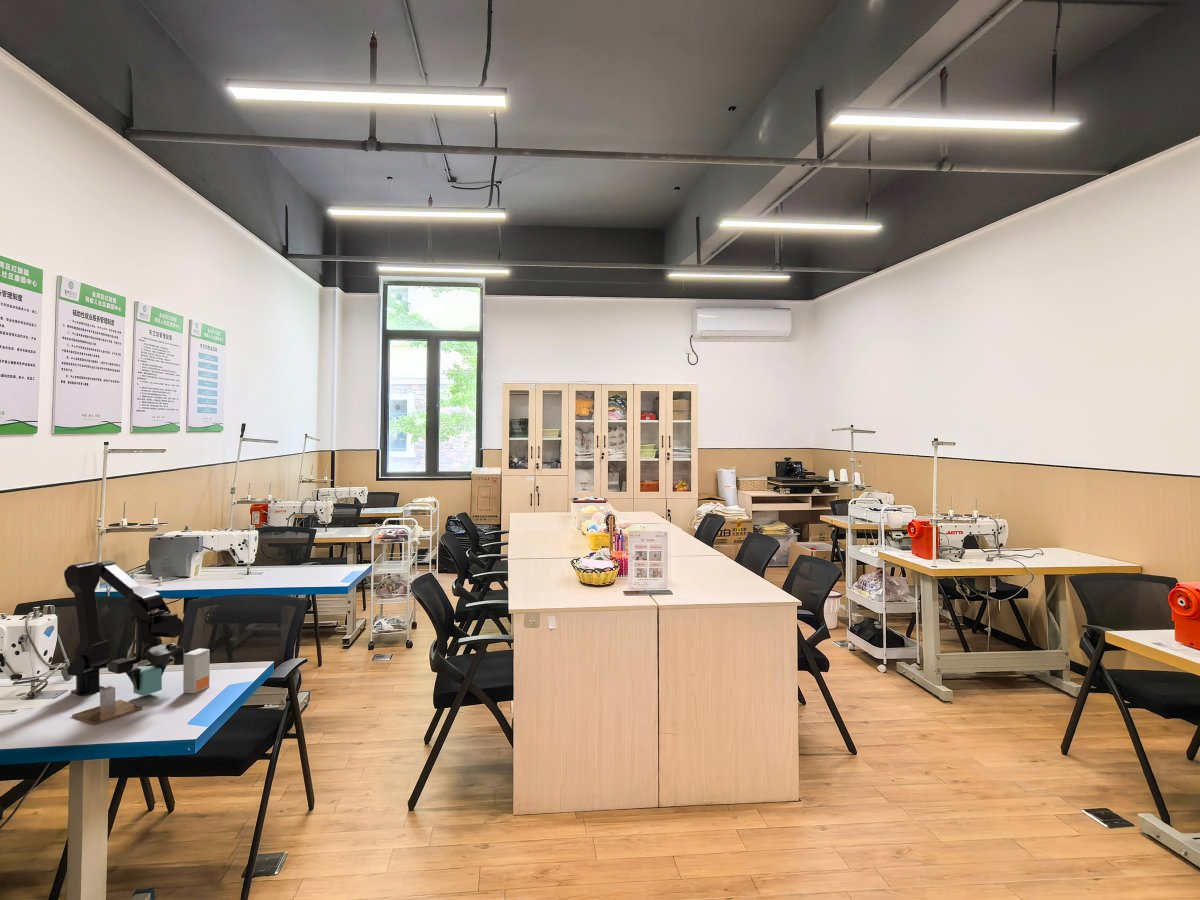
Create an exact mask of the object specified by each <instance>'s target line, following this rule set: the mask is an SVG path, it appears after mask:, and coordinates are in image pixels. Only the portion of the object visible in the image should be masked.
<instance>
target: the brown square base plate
mask: <svg viewBox="0 0 1200 900" xmlns="http://www.w3.org/2000/svg"><path fill="white" fill-rule="evenodd" d="M143 708H144V707H143V706H141V705H137V704H135V703H132V702H128V701H126V700H125V701H124V700H123V699H118V700H116V687H114V686H112V685H109V686H105V688H102V689H100V691H99V705H98V706H95V707H92V708H89V709H86V710H83V711H79V712H76V713H74V714H72V715H71V717H72V718H74V719H77V720H79V721H83V722H85V723H88V724H90V725H93V726H97V725H99V724H102V723H106V722H108V721H112V720H115V719H117V718H121V717H123V716H127V715H130V714H133V713H136V712H139V711H141V710H143Z"/></svg>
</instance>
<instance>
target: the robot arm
mask: <svg viewBox="0 0 1200 900" xmlns="http://www.w3.org/2000/svg"><path fill="white" fill-rule="evenodd" d="M63 573H64V574H63V576H64V577H63V578H64V580H65V585H66V587H67V588H68V589H69V590H70V591H71V592H72V593H73V594H74V600H75V609H76V617H77V624H78V625H77V626H78V632H79V642H78V645H77V646H76V648H75V650H74V660H73V661H72V662H71V663H70V664H69V665H68V667H67V668H66V672H67V675H68V676H74V677H75V689H73V690H70V694H71V693H72V694H75V695H78V696H86V695H89V694H93V693H96V692H100V689H102V688H106V686H102V685H101V684H100V682H101V681H100V680H101V679H100V677H101V676H100V673H101V672H100V670H101V669H104V668H107V671H108V672H109V673H113V674H116V675H119V674H120V675H121V674H126V675H127V677H128V678H129V680H130V681H131V683H132V686H133V685H134V687H135V689H136V690H139V688H140V680H139V673H140V671H141V669H142V668H139V665H140V664H145V663H148V662H149V663H150V664H151V666H155V667H158V668H162V676H163V675H164V672H165V670H166V668H167V666H168V665H169V664H170V663H172V662H174V660H175V659H177V658H180V657H181V658H182V657H184V654H185V649H184V647H183V646H181V645H177V644H176V643H175V642H171V643H168V644H163V640H162V638H171V639H175V638H177V637H179V636H180V635H181V634H182V632H183V630H184V628H185V627H184V626H185V625H184V624H185V623H183V620H182V619H181V618H179V615H178V614H177V613H173V614H171V613H172V612H171V610H170V608H169V607H168V605H167V604H166V602H165V600H164V599H163V596H162V595H161V593H159V592H157V591H156V590H154V589H152V588H149V587H145V586H142V585H141V584H139V583H138V582H137V581H136V580H134V579H133V578H132V577H131V576H129V574H127V573H126V572H125V571H124V570H123V569H122V568H120V567H119V566H117V564H116V562H115V561H114V560H105V561H99V562H94V561H86V562H81V563H76V564H71V565H69V566H67V567H66V569H65V570H64V571H63ZM100 578H101V579H103V581H104V582H106V583H107V585H109V586H110V587H112V588H113V589H114V590H115V591H117V592H118V593H119V594H120V595H121V596H122V597H124V598H125V601H126V606H127V608H129V609H130V611H131V612H132V613H133V614H134V615H132V616H131V617H130V618H129V621H130V622H135V638H134V639H133V644H135V652H133V655H132V656H133V657H134V658H132V659H129V658H125V657H121V658H118V659H115V660H111V661H110V659H111V657H112V656H111V655H112V654H111V653H112V652H113V651H112V649H111V641H110V639H108V640H106V639H105V638H104V637H103V636H102V635H101V629H100V627H101V626H100V620H99V611H98V605H97V603H98V602H97V597H96V590H97V589H96V588H97V586H98V585H99V582H100V581H101V579H100ZM109 661H110V662H109Z"/></svg>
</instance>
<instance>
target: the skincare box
mask: <svg viewBox="0 0 1200 900" xmlns="http://www.w3.org/2000/svg"><path fill="white" fill-rule="evenodd" d="M210 651H211V650H210V649H209V648H199V647H198V648H197V649H194V650H190V651H189V652H187V653H184V656H183V668H182V669H183V673H182V674H183V675H182V677H183V679H182V680H183V683H182V685H183V686H182V687H183V691H182V692H183V693H184V694H185V693H186V694H193V693H195V694H196V693H199V692H201V691H203V690H205V689H207V688H210V681H211V680H210V678H211V677H210V675H211V674H210V661H211V660H210V655H211V653H210Z"/></svg>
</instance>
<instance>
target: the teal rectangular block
mask: <svg viewBox="0 0 1200 900" xmlns="http://www.w3.org/2000/svg"><path fill="white" fill-rule="evenodd" d="M140 669H141V671H140V673H139V680H140V688H139V690H136V689H135V687H134V685H133V684H132V686H133V689H132V690H133V694H136V695H139V696H141V697H143V696H144V697H146V696H148V695H151V694H153V693H157V692H160V691H162V690H163V675H162V668H158V667H155V666H154V665H149V666H147V667H142V668H140Z"/></svg>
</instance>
